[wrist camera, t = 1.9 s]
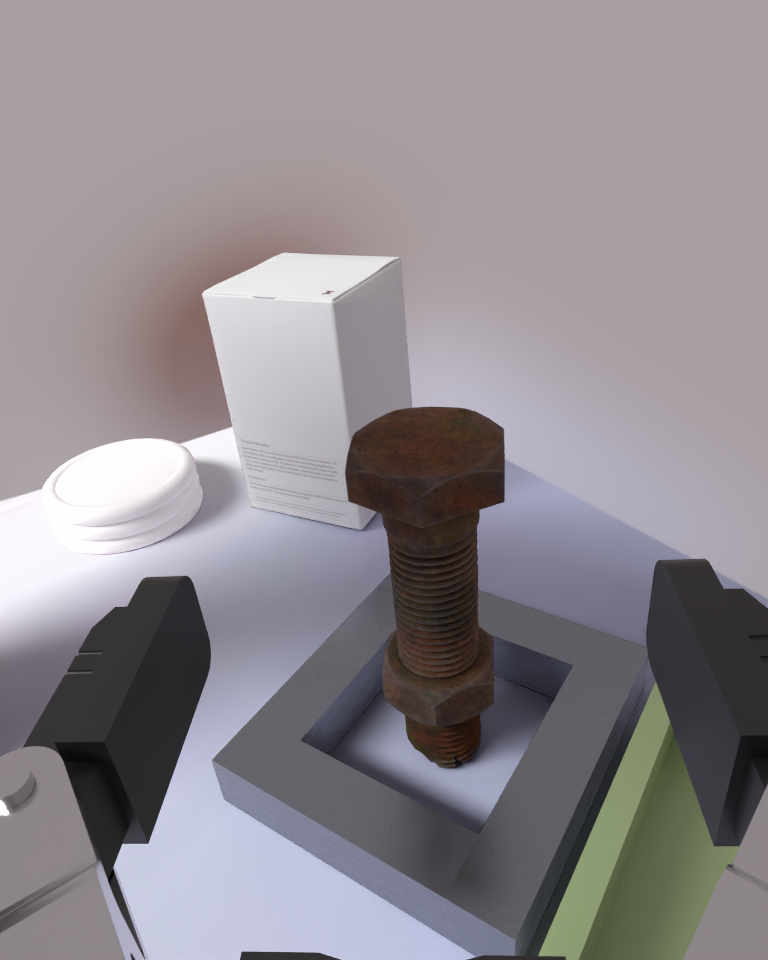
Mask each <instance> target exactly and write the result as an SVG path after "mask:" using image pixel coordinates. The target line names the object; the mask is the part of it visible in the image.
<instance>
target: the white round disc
mask: <svg viewBox="0 0 768 960" xmlns="http://www.w3.org/2000/svg"><path fill="white" fill-rule="evenodd" d="M202 498H203V490H202V487H201V485H200V483H199V475H198V472H197V470H196V463H195V459H194V457H193V456H192V454H191V453H190V451H189V450H188V449H187V448H185V447H184V446H182V445H180V444H177V443H175V442H172V441H168V440H163V439H154V438H152V439H151V438H149V439H148V438H144V439H132V440H125V441H119V442H115V443H111V444H107V445H103V446H100V447H97V448H95V449H92V450H89V451H87V452H84V453H82V454H80V455H78V456H76V457H74V458H73V459H71V460H69V461H67V462H66V463H64V464H63V465H61V466H60V467H59V468H58V469H57V470H56V471H55V472H54V473H52V475H51V476H50V477H49V478H48V480H47V481H46V483H45V484H44V486H43V489H42V494H41V501H42V505H43V507H44V509H45V510H46V511H47V517H48V520H49V522H50V524H51V525H52V526H53V533H54V535H55V537H56V538H57V539H58V540H59V542H60V543H61V544H62V545H64V546H65V547H67V548H69V549H71V550H73V551H77V552H80V553H87V554H115V553H122V552H127V551H132V550H135V549H139V548H142V547H145V546H148V545H151V544H154V543H156V542H158V541H161V540H163V539H165V538H166V537H168V536H170V535H172V534H174V533H175V532H177V531H178V530H180V529H181V528H182V527H184V526H185V525H186V524H187V523H188V522H189V521H190V520H191V519H192V518H193V517H194V516H195V515H196V513H197V512H198V510H199V509H200V506H201V504H202Z"/></svg>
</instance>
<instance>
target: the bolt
mask: <svg viewBox="0 0 768 960" xmlns="http://www.w3.org/2000/svg"><path fill="white" fill-rule="evenodd" d="M504 468H505V454H504V429H503V428H502V427H501V426H499V425H498V424H496V423H495V422H493V421H492V420H490V419H489V418H487V417H485V416H483V415H481V414H479V413H477V412H475V411H471V410H468V409H463V408H452V407H419V408H405V409H399V410H395V411H392V412H389V413H387V414H385V415H383V416H381V417H379V418H377V419H375V420H373V421H372V422H370V423H368V424H367V425H365V426H364V427H362V428H361V429H359V430H358V431H356V432H355V433H354V435H353V437H352V440H351V443H350V447H349V451H348V455H347V460H346V468H345V478H346V486H347V495H348V502H351V503H354V504H357V505H359V506H362V507H365V508H368V509H370V510H373V511H376V512H379V513H381V514H382V518H383V524H384V528H385V529H386V531H387V536H388V545H389V552H390V554H389V556H390V566H391V570H390V572H391V582H392V590H393V591H392V592H393V603H394V610H395V617H396V630H395V631H393V632H392V633H391V634H390V635H389V637H388V640H387V644H386V648H385V655H384V662H383V673H382V684H383V692H384V699H385V700H387V701H388V702H389V703H390V704H391V705H392V706H394V707H395V708H396V709H397V710H399V711H400V712H402V713H403V714H405V718H406V732H407V736H408V739H409V741H410V742H411V744H412V745H413V746H414V748H415V749H417V750H418V751H420V752H421V753H423V754H424V755H425V756H426V757H427V758H428V759H429V760H430V761H431V762H435V763H436V764H437V765H438V766H439V767H443V768H449V767H454V766H456V764H455V762H456V760H455V759H454V757H455V758H457V759H458V760H460V761H461V762H462V763H464V762H466V761H468V760H470V759H471V758H472V757H473V755H474V754H475V753H476V752H477V750H478V748H479V745H480V736H481V724H480V715H481V714H480V713H481V712H482V711H484V710H485V709H487V708H488V707H489V706H491V705H492V704H494V637H493V636H491V635H490V634H489V633H487V632H486V631H485V630H484V629H482V628H481V627H479V621H478V565H477V560H478V556H477V525H478V523H479V510H480V509H483V508H487V507H490V506H493V505H496V504H499V503H502V502H504Z"/></svg>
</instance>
